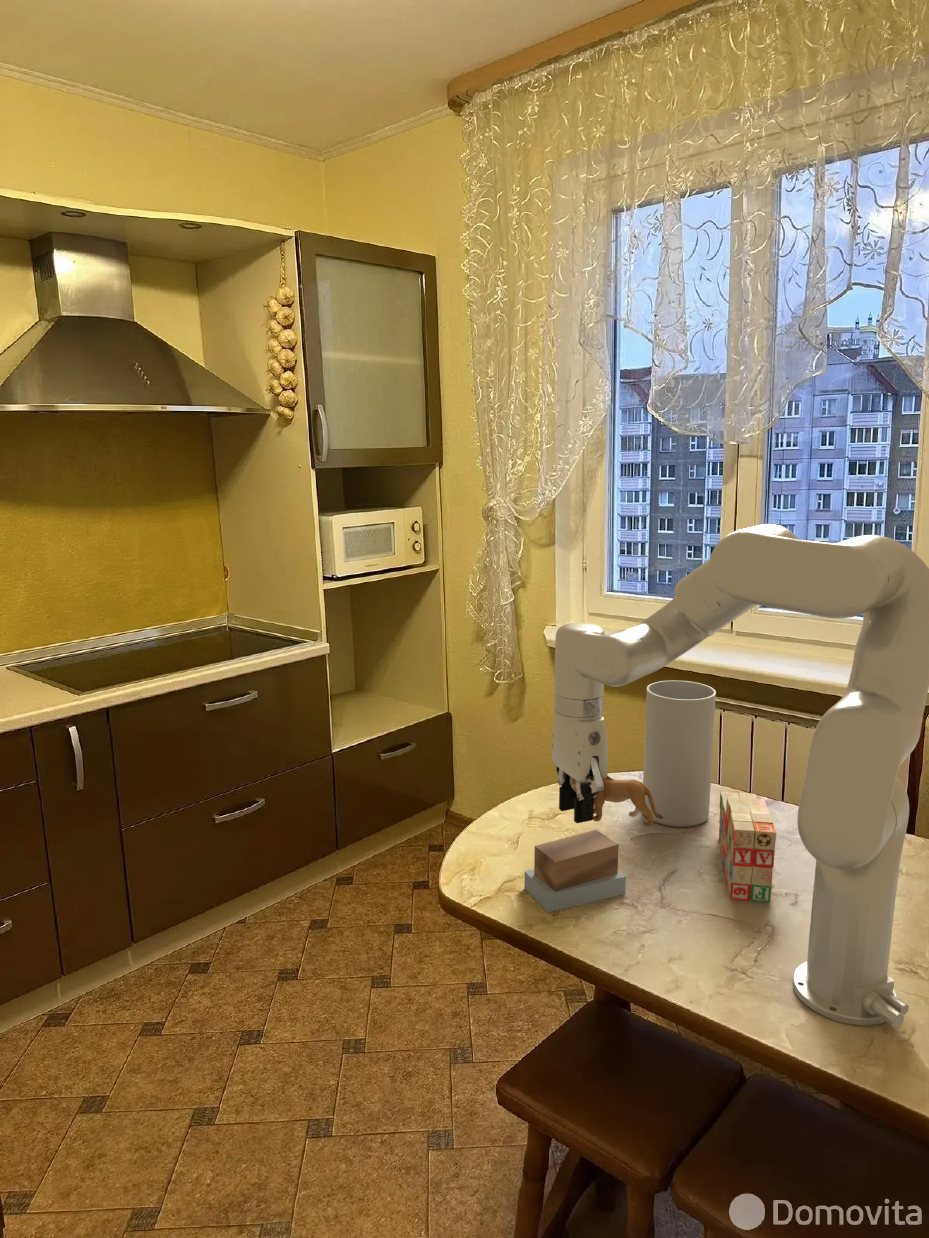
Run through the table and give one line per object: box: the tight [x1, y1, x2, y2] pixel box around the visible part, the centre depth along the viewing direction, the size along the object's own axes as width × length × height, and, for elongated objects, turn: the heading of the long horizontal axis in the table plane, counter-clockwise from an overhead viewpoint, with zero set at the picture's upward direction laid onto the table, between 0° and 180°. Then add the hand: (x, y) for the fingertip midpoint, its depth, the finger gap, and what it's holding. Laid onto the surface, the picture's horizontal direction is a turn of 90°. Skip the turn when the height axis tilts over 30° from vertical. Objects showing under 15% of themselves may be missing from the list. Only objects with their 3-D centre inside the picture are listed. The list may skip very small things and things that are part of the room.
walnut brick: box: [533, 829, 620, 892], centre depth 139 cm, size 6×12×5 cm, turn 118°
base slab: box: [524, 868, 627, 913], centre depth 139 cm, size 8×14×3 cm, turn 113°
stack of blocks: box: [718, 791, 777, 904], centre depth 145 cm, size 21×6×12 cm, turn 169°
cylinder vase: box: [642, 679, 717, 828], centre depth 165 cm, size 12×12×25 cm
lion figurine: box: [570, 774, 663, 827], centre depth 136 cm, size 15×5×9 cm, turn 84°
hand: (575, 813), depth 137 cm, fingers closed on lion figurine, 4 cm apart
